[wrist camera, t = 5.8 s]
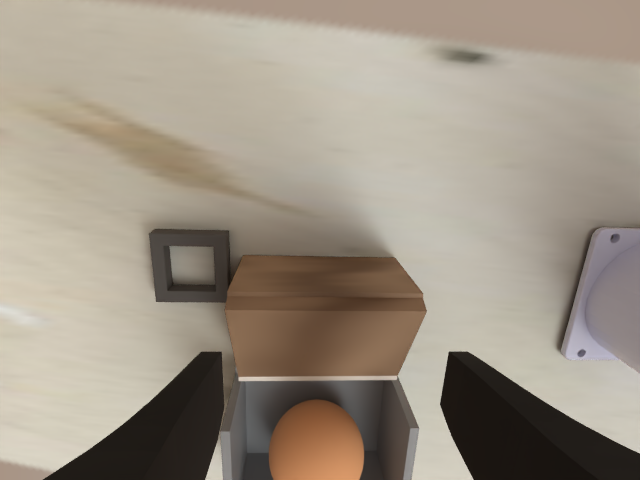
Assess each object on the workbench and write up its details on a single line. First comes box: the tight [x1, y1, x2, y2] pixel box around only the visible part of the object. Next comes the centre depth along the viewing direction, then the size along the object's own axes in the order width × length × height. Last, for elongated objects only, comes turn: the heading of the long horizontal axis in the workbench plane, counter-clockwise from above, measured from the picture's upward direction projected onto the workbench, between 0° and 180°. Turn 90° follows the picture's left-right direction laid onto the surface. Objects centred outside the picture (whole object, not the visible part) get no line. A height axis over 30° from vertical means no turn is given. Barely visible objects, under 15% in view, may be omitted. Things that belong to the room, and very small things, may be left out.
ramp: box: [225, 255, 427, 381], centre depth 17 cm, size 8×6×5 cm
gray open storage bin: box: [221, 366, 419, 480], centre depth 19 cm, size 9×7×5 cm
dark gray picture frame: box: [149, 229, 231, 302], centre depth 18 cm, size 4×4×1 cm
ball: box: [269, 399, 364, 480], centre depth 19 cm, size 5×5×5 cm
